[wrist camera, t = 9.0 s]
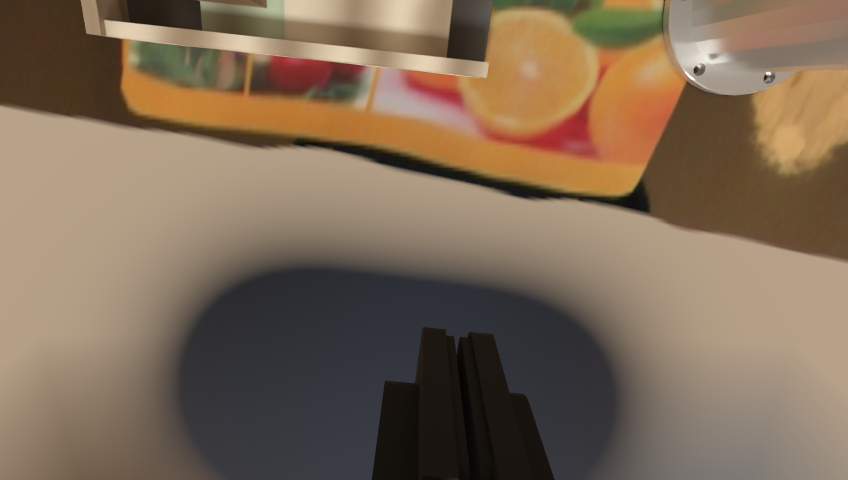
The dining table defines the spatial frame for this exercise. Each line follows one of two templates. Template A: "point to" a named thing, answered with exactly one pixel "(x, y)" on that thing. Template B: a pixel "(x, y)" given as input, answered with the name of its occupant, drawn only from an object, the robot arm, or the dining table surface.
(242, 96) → the dining table surface
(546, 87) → the dining table surface
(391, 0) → the channel board
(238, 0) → the walnut block
